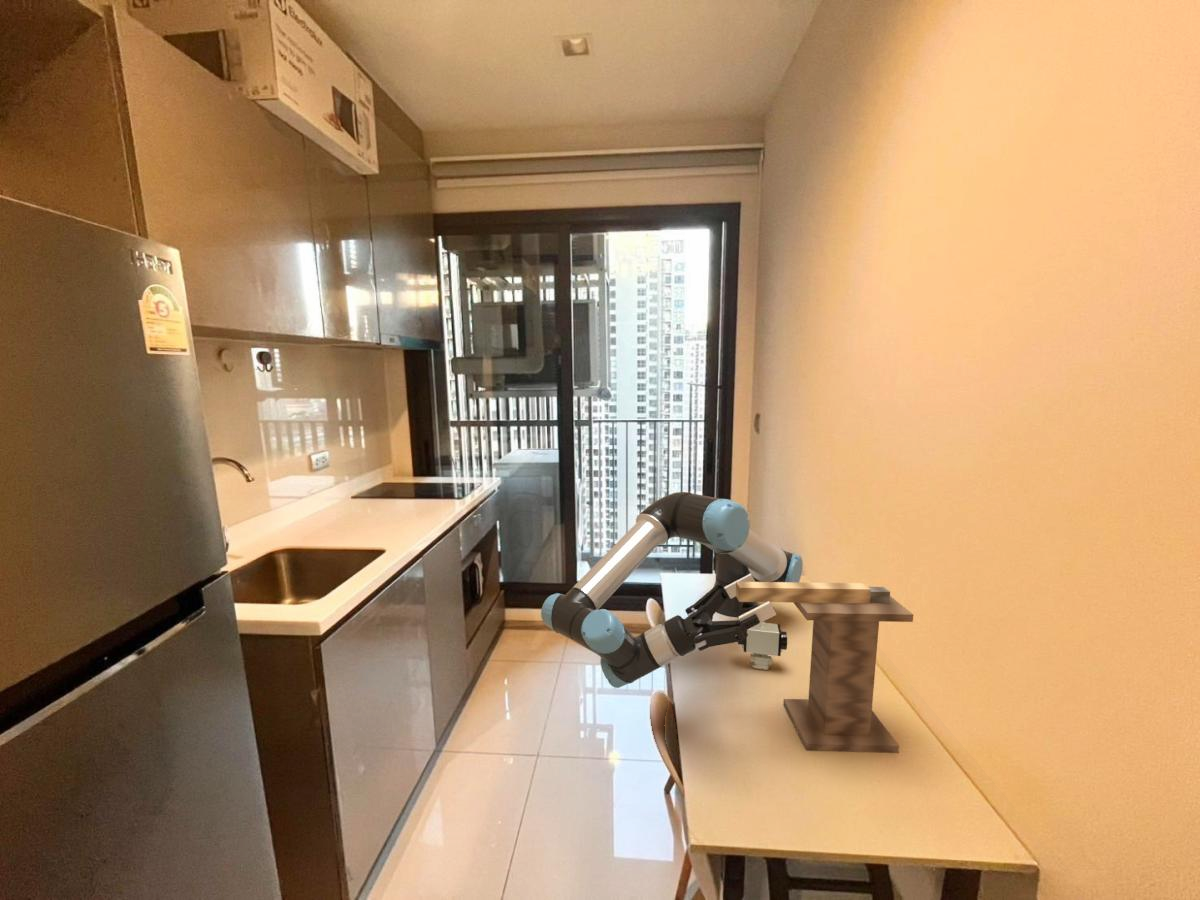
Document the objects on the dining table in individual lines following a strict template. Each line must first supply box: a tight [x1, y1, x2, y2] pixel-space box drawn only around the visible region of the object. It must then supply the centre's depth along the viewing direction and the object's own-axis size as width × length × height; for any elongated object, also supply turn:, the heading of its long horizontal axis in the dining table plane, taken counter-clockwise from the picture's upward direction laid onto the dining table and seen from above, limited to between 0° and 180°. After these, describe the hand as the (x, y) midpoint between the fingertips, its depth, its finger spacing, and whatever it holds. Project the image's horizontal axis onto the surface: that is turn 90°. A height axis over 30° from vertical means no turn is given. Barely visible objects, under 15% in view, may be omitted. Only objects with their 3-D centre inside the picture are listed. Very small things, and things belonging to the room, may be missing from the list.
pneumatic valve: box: [737, 621, 788, 671], centre depth 128 cm, size 6×12×12 cm, turn 77°
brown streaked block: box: [736, 581, 891, 604], centre depth 102 cm, size 30×3×3 cm, turn 88°
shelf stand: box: [782, 595, 914, 754], centre depth 104 cm, size 20×14×28 cm
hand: (762, 592), depth 102 cm, fingers open, 13 cm apart
